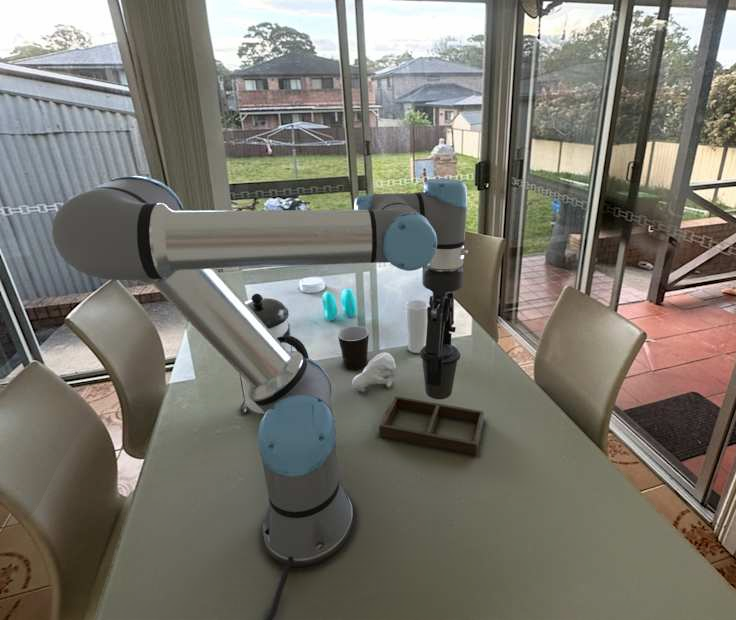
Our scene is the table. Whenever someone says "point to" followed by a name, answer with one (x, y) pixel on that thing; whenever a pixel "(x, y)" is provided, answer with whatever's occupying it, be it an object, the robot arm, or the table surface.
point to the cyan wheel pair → (331, 306)
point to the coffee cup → (448, 372)
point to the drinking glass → (416, 324)
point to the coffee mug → (354, 346)
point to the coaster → (312, 284)
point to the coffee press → (277, 323)
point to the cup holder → (432, 425)
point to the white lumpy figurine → (376, 372)
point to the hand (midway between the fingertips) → (439, 371)
